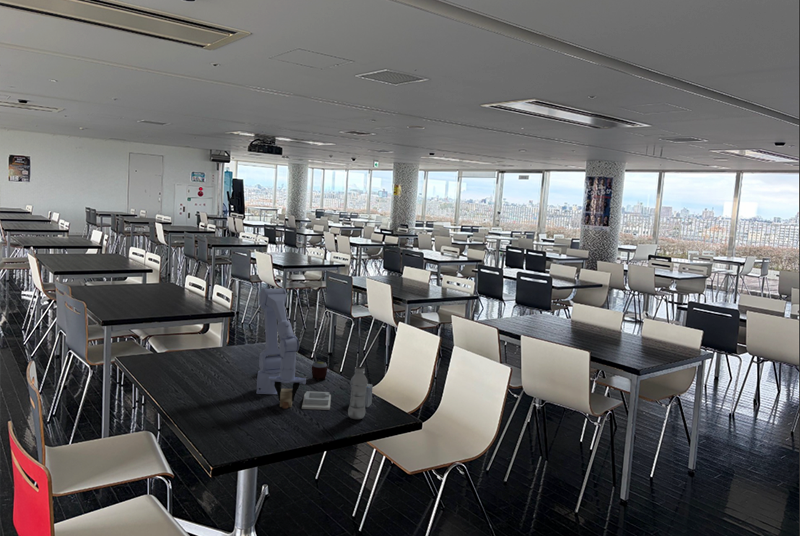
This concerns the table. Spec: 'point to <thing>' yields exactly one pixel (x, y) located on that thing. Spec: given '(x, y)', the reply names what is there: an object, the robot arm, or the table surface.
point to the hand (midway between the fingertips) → (286, 400)
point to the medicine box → (368, 395)
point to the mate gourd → (319, 369)
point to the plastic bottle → (358, 394)
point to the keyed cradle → (316, 400)
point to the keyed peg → (286, 398)
